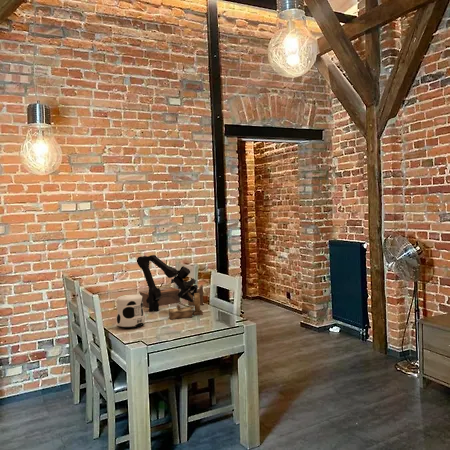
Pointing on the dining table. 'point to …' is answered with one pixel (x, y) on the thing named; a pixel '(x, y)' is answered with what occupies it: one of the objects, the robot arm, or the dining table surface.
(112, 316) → the dining table surface
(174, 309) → the lid
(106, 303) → the dining table surface
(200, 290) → the wooden block
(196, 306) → the key peg
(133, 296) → the milk container
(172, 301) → the tissue box cover
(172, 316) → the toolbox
